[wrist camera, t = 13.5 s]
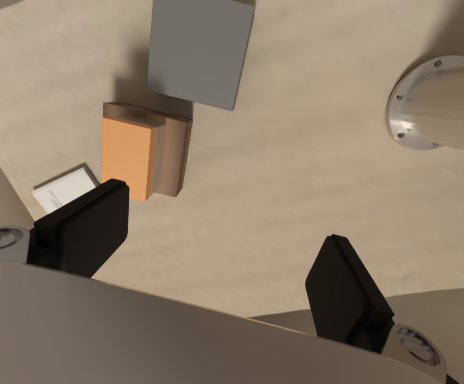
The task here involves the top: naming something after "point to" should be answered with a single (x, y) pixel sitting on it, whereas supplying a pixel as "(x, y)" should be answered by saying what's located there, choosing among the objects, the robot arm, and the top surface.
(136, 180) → the cover
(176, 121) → the stand
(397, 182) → the top surface
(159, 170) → the housing base
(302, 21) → the top surface
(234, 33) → the stand
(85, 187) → the external hard drive
